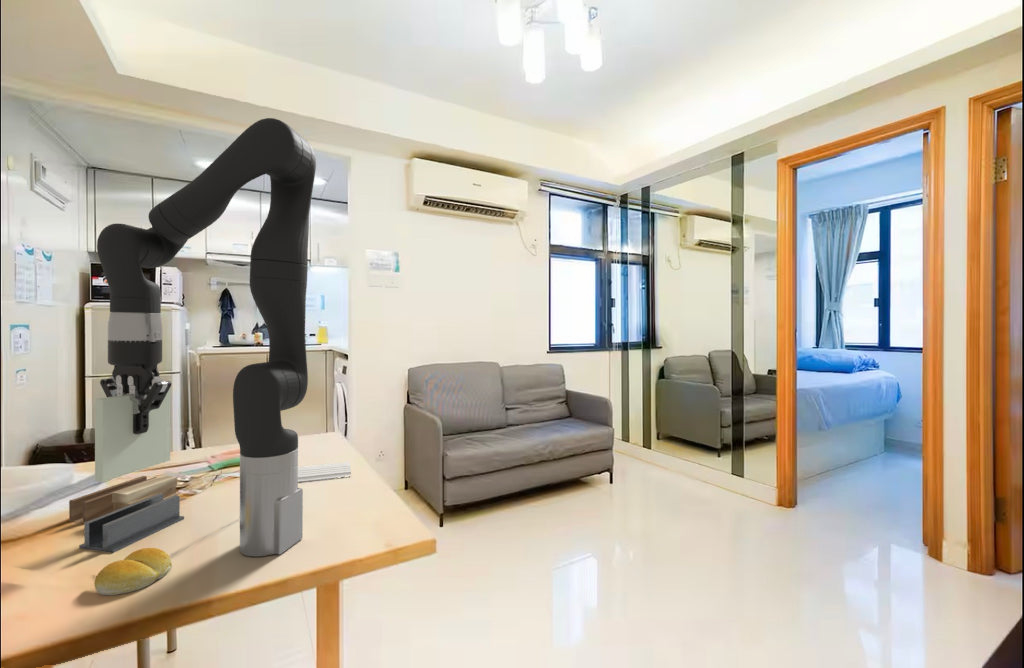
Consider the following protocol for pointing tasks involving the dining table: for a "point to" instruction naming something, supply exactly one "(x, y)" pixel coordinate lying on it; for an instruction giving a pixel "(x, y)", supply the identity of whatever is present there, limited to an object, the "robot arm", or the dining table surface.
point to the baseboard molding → (316, 472)
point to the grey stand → (131, 523)
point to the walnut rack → (98, 502)
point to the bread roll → (133, 572)
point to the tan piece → (145, 491)
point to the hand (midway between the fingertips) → (135, 432)
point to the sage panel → (128, 437)
